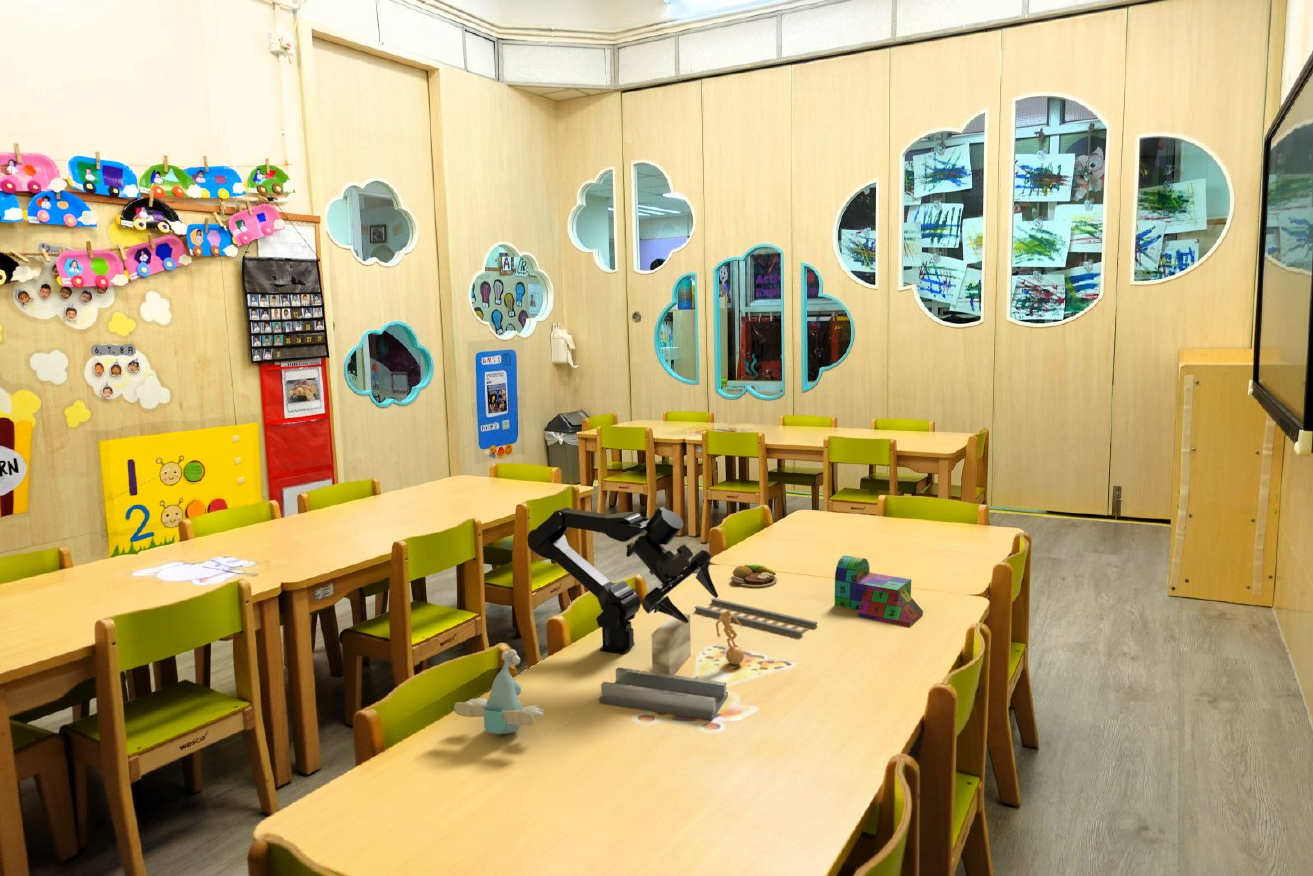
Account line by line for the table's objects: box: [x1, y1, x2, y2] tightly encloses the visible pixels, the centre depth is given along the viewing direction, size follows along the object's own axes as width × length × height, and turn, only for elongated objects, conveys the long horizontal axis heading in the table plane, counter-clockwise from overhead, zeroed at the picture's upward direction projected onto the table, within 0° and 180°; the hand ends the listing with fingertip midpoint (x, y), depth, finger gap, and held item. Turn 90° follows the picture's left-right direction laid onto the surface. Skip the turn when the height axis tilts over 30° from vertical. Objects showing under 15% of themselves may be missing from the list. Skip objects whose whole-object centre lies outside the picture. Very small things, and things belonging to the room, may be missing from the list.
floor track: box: [598, 667, 729, 721], centre depth 177 cm, size 24×11×4 cm, turn 69°
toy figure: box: [453, 648, 545, 735], centre depth 164 cm, size 17×10×15 cm, turn 71°
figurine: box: [715, 610, 745, 666], centre depth 193 cm, size 8×6×12 cm
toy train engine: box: [834, 554, 924, 628], centre depth 225 cm, size 22×15×12 cm
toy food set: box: [731, 564, 778, 589], centre depth 251 cm, size 20×14×4 cm
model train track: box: [694, 597, 818, 640], centre depth 221 cm, size 11×31×2 cm, turn 52°
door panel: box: [651, 613, 692, 675], centre depth 192 cm, size 4×14×10 cm, turn 159°
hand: (702, 609), depth 191 cm, fingers open, 9 cm apart
